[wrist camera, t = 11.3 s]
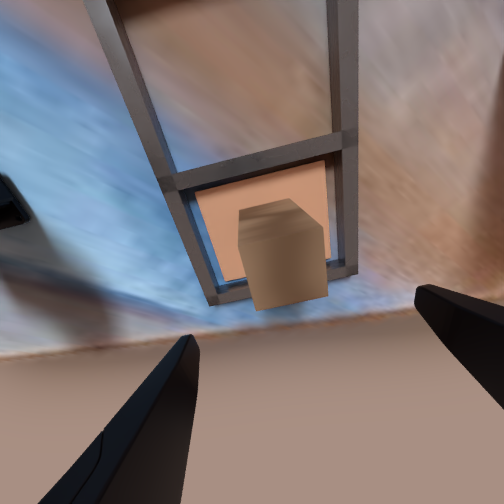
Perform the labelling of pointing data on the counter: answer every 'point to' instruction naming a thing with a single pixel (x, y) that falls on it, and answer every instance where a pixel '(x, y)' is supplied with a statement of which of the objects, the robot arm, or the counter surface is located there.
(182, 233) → the rail
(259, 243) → the walnut peg
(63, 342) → the counter surface
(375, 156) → the counter surface
